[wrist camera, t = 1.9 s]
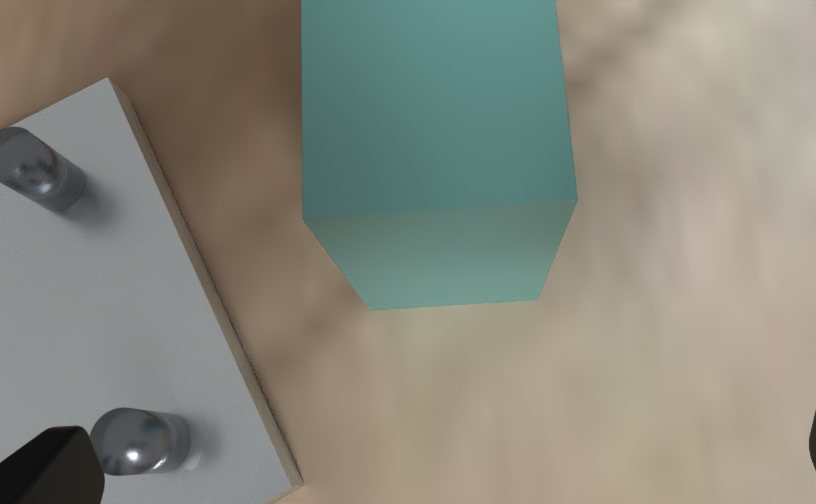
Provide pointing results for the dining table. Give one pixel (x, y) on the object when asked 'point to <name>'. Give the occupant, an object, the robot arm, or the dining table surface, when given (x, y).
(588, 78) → the dining table surface
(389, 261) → the module box
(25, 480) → the robot arm
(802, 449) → the dining table surface
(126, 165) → the plate
